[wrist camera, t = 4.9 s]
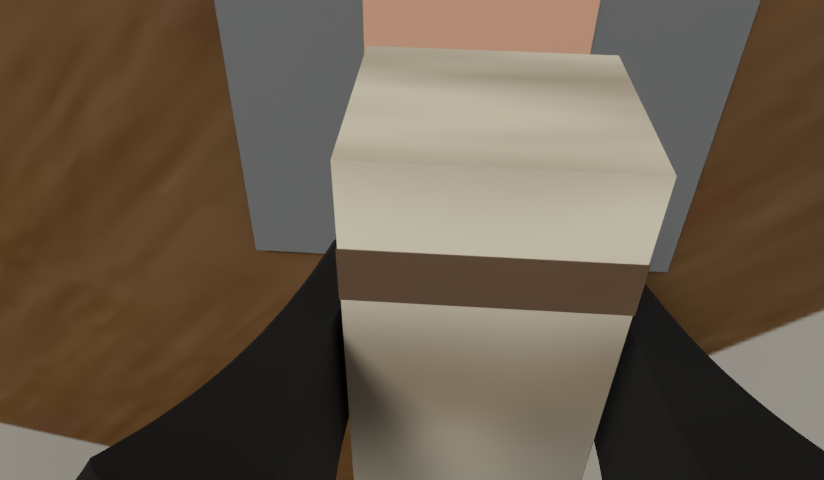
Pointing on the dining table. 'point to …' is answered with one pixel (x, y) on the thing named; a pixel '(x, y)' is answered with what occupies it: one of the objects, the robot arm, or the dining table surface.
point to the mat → (456, 29)
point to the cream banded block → (489, 256)
